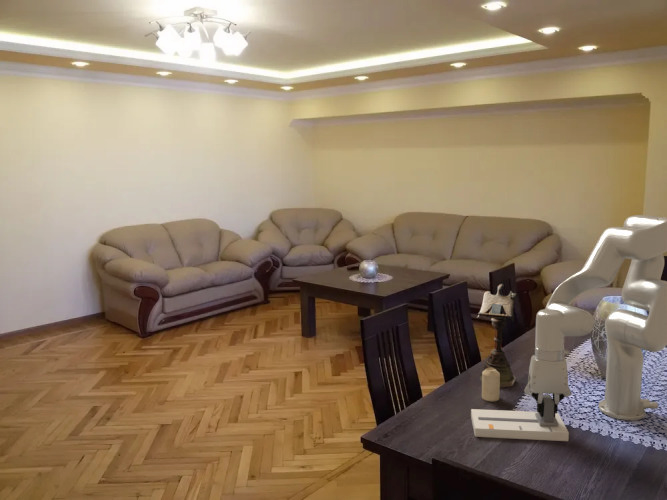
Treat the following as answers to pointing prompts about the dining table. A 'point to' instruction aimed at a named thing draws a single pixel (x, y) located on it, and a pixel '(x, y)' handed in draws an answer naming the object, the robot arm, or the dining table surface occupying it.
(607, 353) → the robot arm
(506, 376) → the bird statue
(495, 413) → the fader console
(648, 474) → the dining table surface
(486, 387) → the candle
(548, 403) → the fader tab
